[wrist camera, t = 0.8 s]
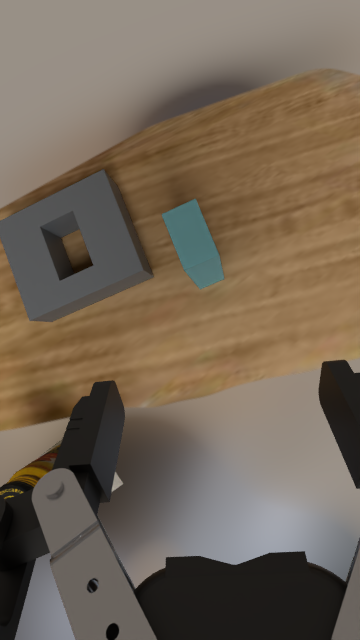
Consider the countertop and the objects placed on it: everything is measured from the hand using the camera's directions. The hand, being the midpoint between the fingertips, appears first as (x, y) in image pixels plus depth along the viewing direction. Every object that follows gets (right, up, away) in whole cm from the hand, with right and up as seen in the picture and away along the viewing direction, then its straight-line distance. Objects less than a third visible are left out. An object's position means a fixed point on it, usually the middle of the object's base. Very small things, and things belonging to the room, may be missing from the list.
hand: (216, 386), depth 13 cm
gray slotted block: (-13, +11, +28) cm, 33 cm away
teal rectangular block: (+1, +9, +25) cm, 27 cm away
